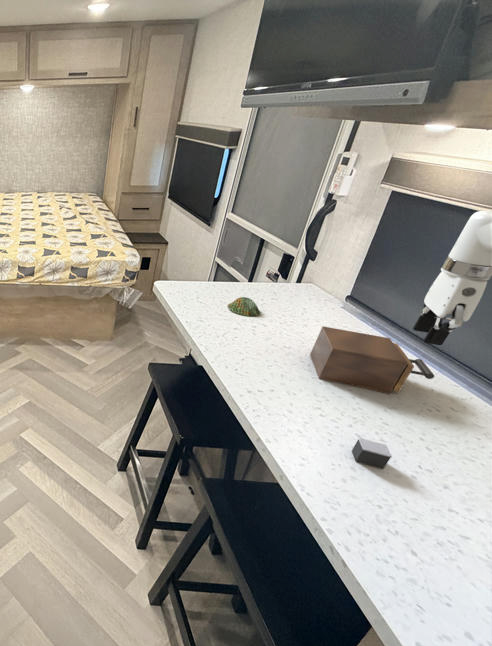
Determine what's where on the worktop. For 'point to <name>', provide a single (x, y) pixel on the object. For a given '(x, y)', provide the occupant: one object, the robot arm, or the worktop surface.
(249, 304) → the seashell
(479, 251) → the robot arm
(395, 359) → the cabinet
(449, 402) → the worktop surface
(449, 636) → the worktop surface
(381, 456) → the block
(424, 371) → the drawer
